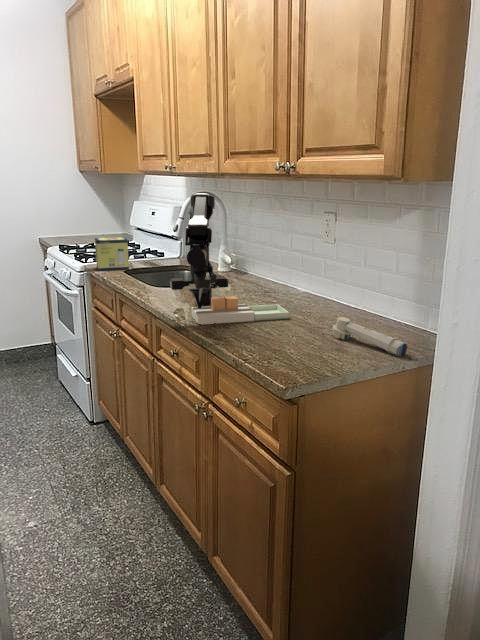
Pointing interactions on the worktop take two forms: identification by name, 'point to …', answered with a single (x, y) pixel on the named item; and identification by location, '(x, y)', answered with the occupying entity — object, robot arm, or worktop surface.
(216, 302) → the orange-brown cube
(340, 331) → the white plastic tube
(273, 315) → the tray
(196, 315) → the slot board
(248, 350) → the worktop surface
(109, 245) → the protein box
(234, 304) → the orange cube
